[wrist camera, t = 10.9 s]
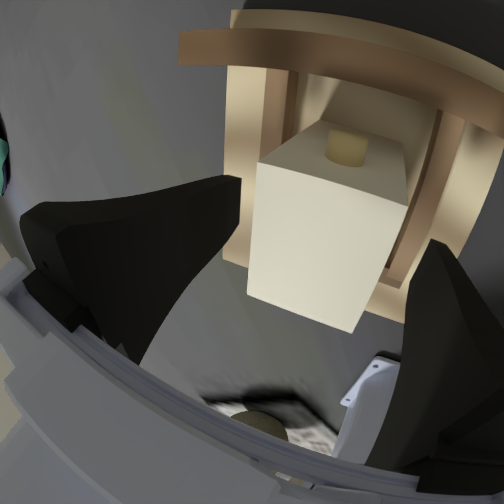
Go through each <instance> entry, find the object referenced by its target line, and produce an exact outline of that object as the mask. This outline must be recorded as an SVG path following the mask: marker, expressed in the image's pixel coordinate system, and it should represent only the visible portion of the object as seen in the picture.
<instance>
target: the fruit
mask: <svg viewBox="0 0 504 504" xmlns="http://www.w3.org/2000/svg"><path fill="white" fill-rule="evenodd" d="M231 418H233V419H235V420H237V421H239V422H241V423H244V424H246V425H248V426H250V427H253V428H255V429H257V430H260V431H262V432H264V433H267V434H269V435H272V436H274V437H277V438H279V439H282V440H284V441H287V442H288V436H287V432H286V430H285V428H284V427H283V425H282V424H281V423H280V422H279V421H278V420H276V419H275V418H273V417H271V416H269V415H267V414H265V413H263V412H258V411H245V412H240V413H237V414H235V415H233V416H231ZM264 467H265V466H264ZM266 468H267V467H266ZM267 469H269V470H271V471H272V472H274V474H275V473H276V472H277V471H275V470H273V469H270V468H267Z"/></svg>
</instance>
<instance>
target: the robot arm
mask: <svg viewBox="0 0 504 504" xmlns="http://www.w3.org/2000/svg"><path fill="white" fill-rule="evenodd" d="M241 185H242V178H240V177H236V176H232V175H220V176H214V177H210V178H206V179H202V180H198V181H194V182H190V183H186V184H183V185H179V186H175V187H171V188H167V189H163V190H159V191H154V192H150V193H145V194H140V195H134V196H128V197H121V198H113V199H105V200H95V201H79V202H42V203H39V204H37V205H36V206H34V207H33V208H31V209H30V210H28V211H27V212H25V213H24V214H23V215H21V217H20V222H19V223H20V230H21V234H22V237H23V239H24V242H25V244H26V247H27V249H28V251H29V254H30V256H31V258H32V261H33V263H34V265H35V267H36V269H35V270H34V271H33V272H32V273H31V272H30V271H29V269H28V268H27V267H26V266H25V265H24V264H23V263H22V262H21V261H20V260H19V259H18V258H17V257H14V258H13V259H11V260H10V261H9V262H8V263H7V264H5V265H4V266H3V267H2V268H1V269H0V347H1V348H2V350H3V352H4V353H5V355H6V357H7V358H8V360H9V362H10V363H11V365H12V366H13V368H14V370H13V371H12V372H11V373H10V374H9V375H8V376H7V377H6V378H5V380H4V382H5V390H6V392H7V393H8V395H9V396H10V398H11V399H12V401H13V403H14V405H15V406H16V407H17V409H18V410H19V411H20V412H21V414H22V415H23V416H22V417H21V419H20V420H19V421H18V422H17V423H16V424H15V426H14V427H13V428H12V429H11V431H10V432H9V433H8V434H7V435H6V437H5V438H4V439H3V441H2V442H1V443H0V504H504V329H503V328H502V326H501V325H500V324H499V322H498V321H497V319H496V318H495V317H494V315H493V314H492V312H491V311H490V310H489V308H488V307H487V305H486V304H485V302H484V301H483V299H482V298H481V296H480V294H479V293H478V291H477V290H476V288H475V287H474V285H473V284H472V282H471V280H470V279H469V277H468V276H467V274H466V272H465V271H464V269H463V268H462V266H461V265H460V263H459V261H458V260H457V258H456V257H455V255H454V254H453V253H452V251H451V250H450V248H449V247H448V246H447V245H446V244H445V243H442V242H440V241H437V240H435V239H432V238H431V239H430V241H429V243H428V246H427V248H426V250H425V252H424V254H423V256H422V258H421V260H420V262H419V264H418V266H417V268H416V270H415V272H414V274H413V276H412V278H411V280H410V282H409V288H408V294H407V300H406V306H405V321H404V335H403V346H402V356H401V362H396V361H393V360H390V359H387V358H384V357H381V356H376V357H374V358H373V359H372V361H371V362H370V363H369V365H368V366H367V367H366V369H365V370H364V371H363V373H362V374H361V375H360V377H359V378H358V379H357V381H356V382H355V383H354V384H353V386H352V387H351V388H350V389H349V391H348V392H347V393H346V394H345V395H344V397H343V398H342V399H341V402H340V403H341V404H342V405H344V406H348V409H347V412H346V415H345V418H344V421H343V424H342V427H341V430H340V433H339V435H338V438H337V441H336V443H335V446H334V449H333V452H332V456H328V455H325V454H321V453H318V452H315V451H312V450H309V449H306V448H303V447H301V446H298V445H295V444H292V443H290V442H287V441H284V440H282V439H279V438H277V437H274V436H272V435H269V434H267V433H264V432H262V431H260V430H257V429H255V428H253V427H250V426H248V425H246V424H244V423H241V422H239V421H237V420H235V419H233V418H231V417H229V416H226V415H224V414H222V413H220V412H218V411H216V410H214V409H212V408H210V407H208V406H206V405H205V404H203V403H201V402H199V401H197V400H195V399H193V398H191V397H190V396H188V395H186V394H184V393H182V392H181V391H179V390H177V389H175V388H174V387H172V386H170V385H169V384H167V383H165V382H164V381H162V380H160V379H159V378H157V377H155V376H154V375H152V374H151V373H149V372H147V371H146V370H144V369H143V368H141V367H140V366H139V364H140V362H141V360H142V358H143V356H144V354H145V352H146V351H147V349H148V347H149V345H150V343H151V341H152V340H153V338H154V336H155V334H156V333H157V331H158V329H159V328H160V326H161V324H162V323H163V321H164V319H165V318H166V316H167V315H168V313H169V312H170V310H171V309H172V307H173V306H174V304H175V303H176V301H177V300H178V298H179V297H180V296H181V294H182V293H183V291H184V290H185V289H186V287H187V286H188V285H189V283H190V282H191V281H192V280H193V279H194V278H195V276H196V275H197V274H198V273H199V272H200V271H201V270H202V269H203V268H204V267H205V266H206V265H207V263H208V262H209V261H210V260H211V259H212V258H213V257H214V256H215V255H216V254H217V253H218V252H219V250H220V249H221V248H222V247H223V246H224V245H225V244H226V243H227V241H228V240H229V239H230V237H231V236H232V234H233V233H234V231H235V230H236V228H237V227H238V225H239V224H240V204H241ZM264 466H265V467H264ZM266 467H267V468H270V469H273V470H275V471H278V472H281V473H283V474H286V475H289V476H292V477H295V478H298V479H301V480H304V481H305V482H304V483H303V484H302V485H301V486H299V485H297V484H294V483H292V482H289V481H287V480H284V479H282V478H280V477H277V476H275V474H274V472H272V471H271V470H269V469H267V468H266Z"/></svg>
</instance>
